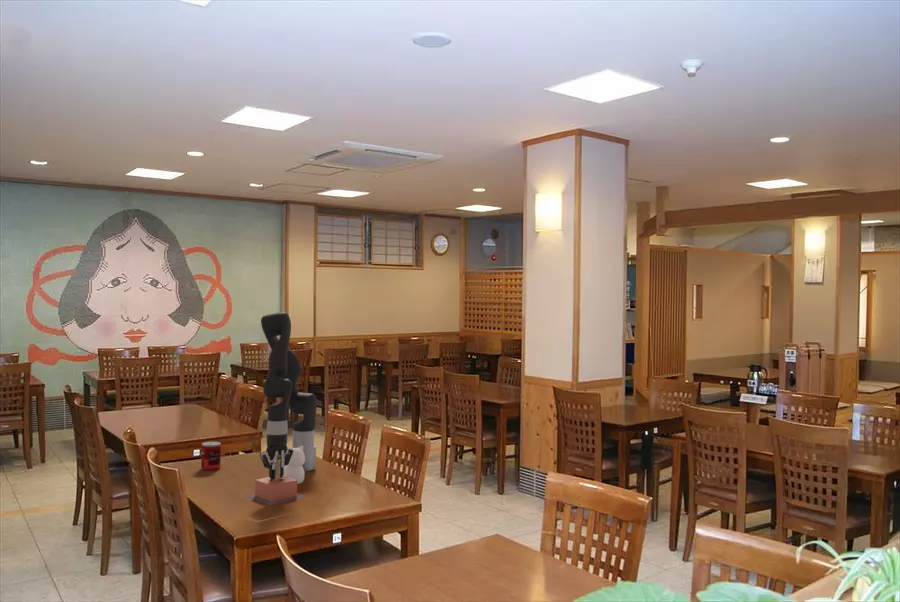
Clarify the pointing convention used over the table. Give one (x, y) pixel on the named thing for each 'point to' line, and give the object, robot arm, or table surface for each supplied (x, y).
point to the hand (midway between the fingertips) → (276, 478)
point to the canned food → (211, 456)
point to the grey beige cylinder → (277, 469)
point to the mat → (274, 501)
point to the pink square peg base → (275, 488)
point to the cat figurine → (296, 465)
